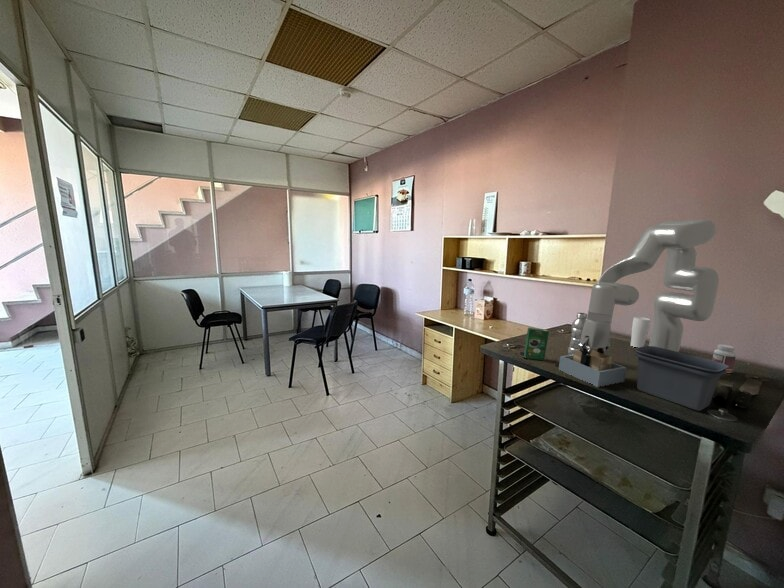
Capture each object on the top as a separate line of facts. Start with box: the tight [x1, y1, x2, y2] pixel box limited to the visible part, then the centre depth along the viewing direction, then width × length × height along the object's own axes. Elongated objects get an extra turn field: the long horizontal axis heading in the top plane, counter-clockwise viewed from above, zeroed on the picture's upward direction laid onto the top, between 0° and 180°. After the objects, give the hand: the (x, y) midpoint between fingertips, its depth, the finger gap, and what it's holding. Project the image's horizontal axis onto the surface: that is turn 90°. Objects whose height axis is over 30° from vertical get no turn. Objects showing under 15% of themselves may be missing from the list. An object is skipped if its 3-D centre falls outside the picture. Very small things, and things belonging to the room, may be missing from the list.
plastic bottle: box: [567, 312, 588, 355], centre depth 135 cm, size 6×7×20 cm
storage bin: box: [634, 345, 729, 412], centre depth 103 cm, size 21×16×14 cm
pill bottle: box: [711, 343, 737, 373], centre depth 128 cm, size 6×6×11 cm
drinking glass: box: [630, 316, 652, 348], centre depth 156 cm, size 7×7×15 cm
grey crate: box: [558, 354, 627, 388], centre depth 118 cm, size 15×16×6 cm
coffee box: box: [523, 327, 549, 361], centre depth 133 cm, size 8×3×13 cm, turn 80°
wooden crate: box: [573, 348, 614, 371], centre depth 117 cm, size 7×10×5 cm
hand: (591, 363), depth 118 cm, fingers closed on wooden crate, 7 cm apart
